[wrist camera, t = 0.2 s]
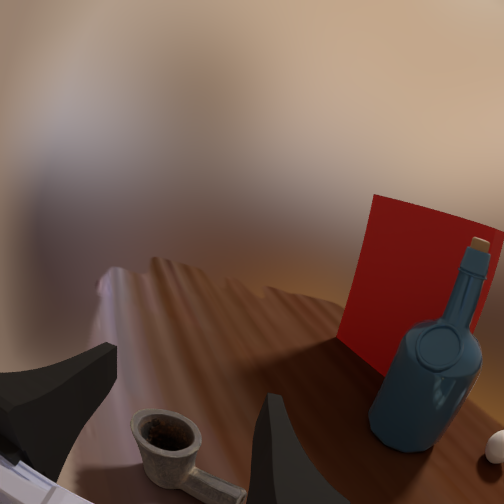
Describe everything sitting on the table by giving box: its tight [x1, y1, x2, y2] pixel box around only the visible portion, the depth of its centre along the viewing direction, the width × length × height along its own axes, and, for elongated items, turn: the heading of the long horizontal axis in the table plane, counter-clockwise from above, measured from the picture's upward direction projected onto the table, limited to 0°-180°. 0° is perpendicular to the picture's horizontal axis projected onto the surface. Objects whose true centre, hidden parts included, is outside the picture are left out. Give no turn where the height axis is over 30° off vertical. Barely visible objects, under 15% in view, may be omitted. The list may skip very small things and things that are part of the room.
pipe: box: [130, 409, 247, 504], centre depth 25 cm, size 6×13×8 cm, turn 65°
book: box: [336, 194, 504, 377], centre depth 52 cm, size 27×8×32 cm, turn 23°
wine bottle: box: [368, 237, 491, 453], centre depth 34 cm, size 14×13×30 cm
